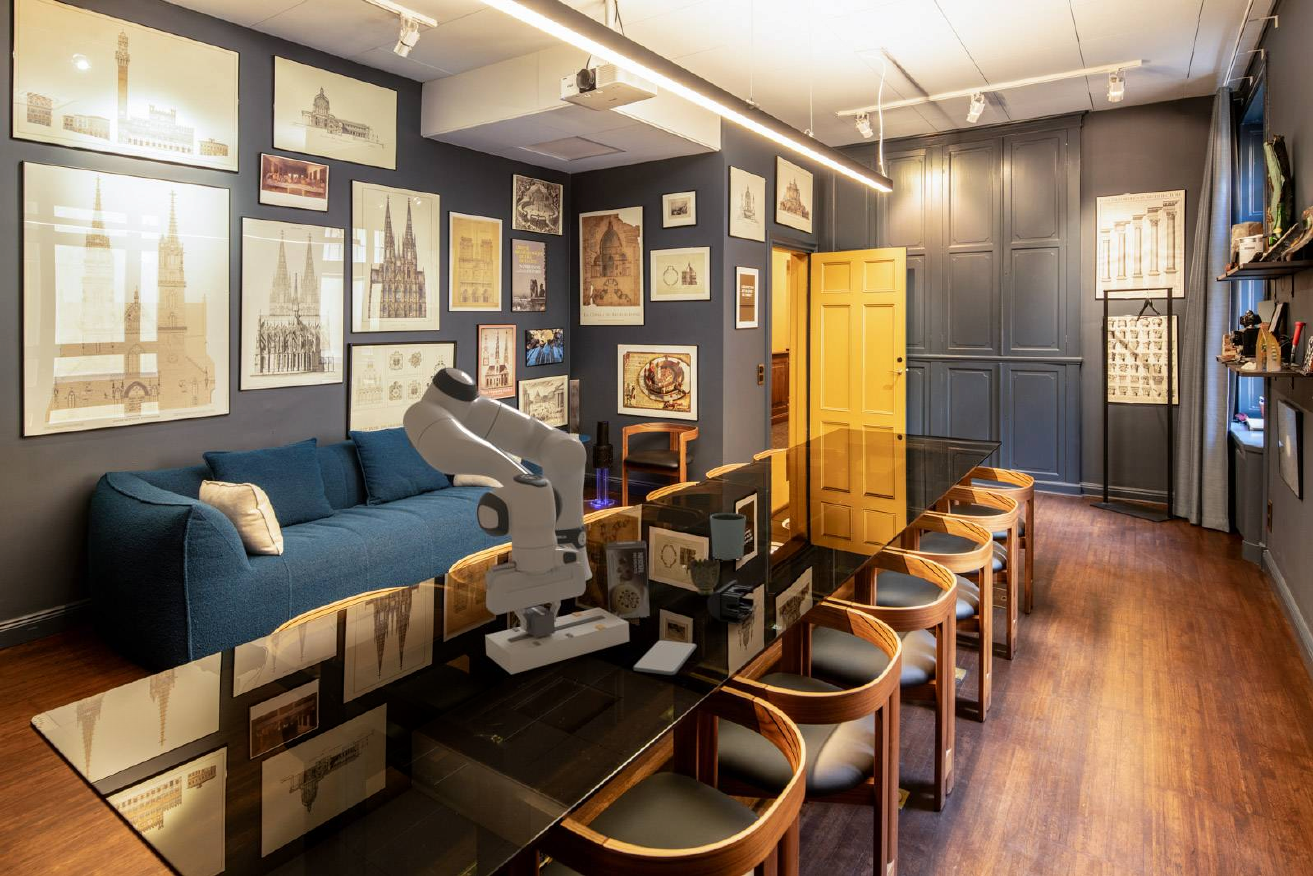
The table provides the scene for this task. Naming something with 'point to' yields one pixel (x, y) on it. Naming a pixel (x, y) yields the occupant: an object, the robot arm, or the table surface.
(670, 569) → the table surface
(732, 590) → the end cap
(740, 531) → the blue plant pot
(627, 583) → the coffee box
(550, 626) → the fader knob
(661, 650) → the smartphone
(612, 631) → the fader console
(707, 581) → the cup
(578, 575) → the robot arm
